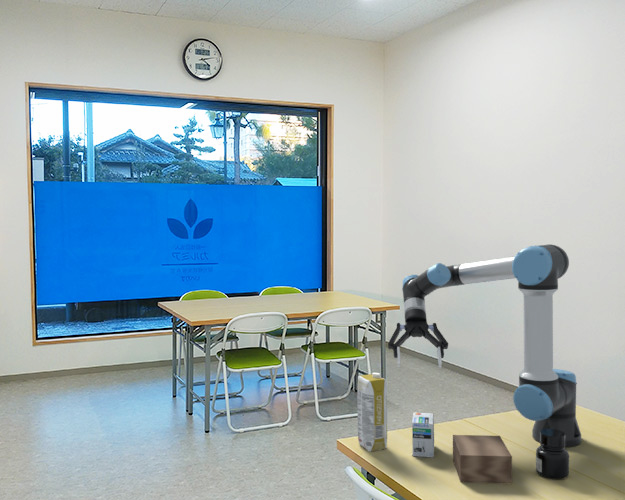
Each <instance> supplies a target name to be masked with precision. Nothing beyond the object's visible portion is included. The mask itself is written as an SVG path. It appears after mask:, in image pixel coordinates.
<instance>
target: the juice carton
mask: <svg viewBox="0 0 625 500" xmlns="http://www.w3.org/2000/svg"><path fill="white" fill-rule="evenodd" d="M356 389H357V390H356V391H357V399H356V400H357V440H358V444H359V445H360V446H361V447H362V448H364V449H366V450H367V451H368V452H374V451H380V450H386V449H387V446H388V386H387V379H386V378H383V377H381V373H379V372H372V373H370V374H363V375H361V374H360V375H358V376H357V388H356Z"/></svg>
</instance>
